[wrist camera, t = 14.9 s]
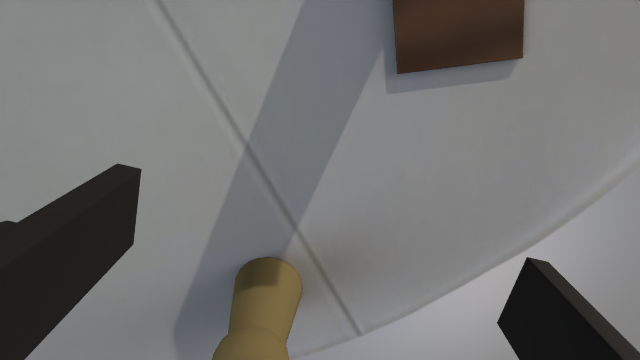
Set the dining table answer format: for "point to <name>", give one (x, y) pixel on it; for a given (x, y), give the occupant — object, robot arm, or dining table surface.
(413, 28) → the strip
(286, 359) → the wooden peg doll
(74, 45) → the dining table surface
